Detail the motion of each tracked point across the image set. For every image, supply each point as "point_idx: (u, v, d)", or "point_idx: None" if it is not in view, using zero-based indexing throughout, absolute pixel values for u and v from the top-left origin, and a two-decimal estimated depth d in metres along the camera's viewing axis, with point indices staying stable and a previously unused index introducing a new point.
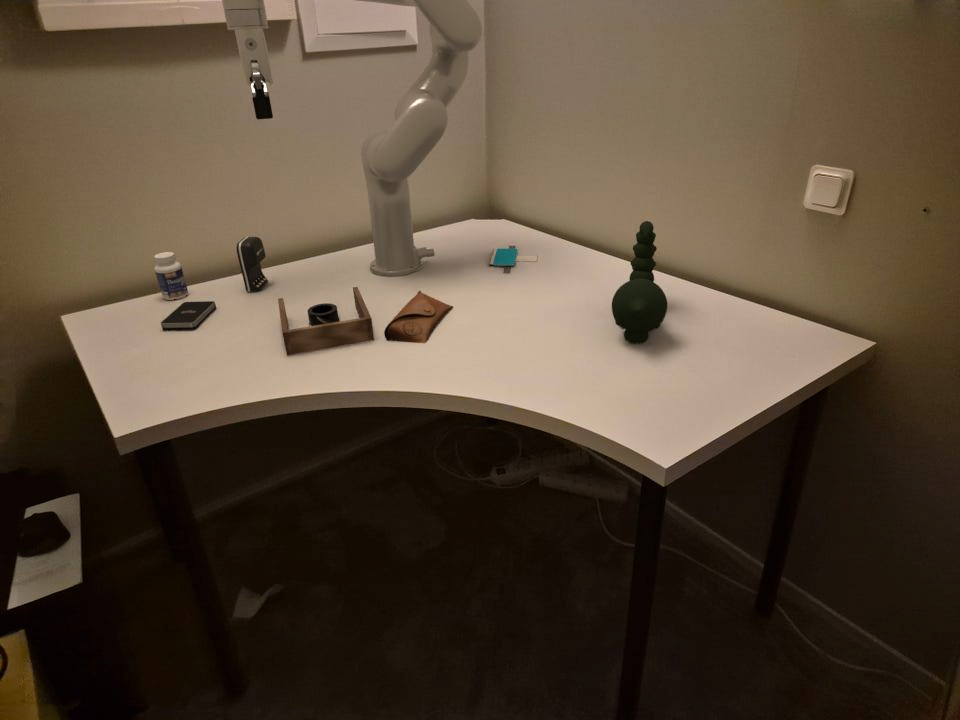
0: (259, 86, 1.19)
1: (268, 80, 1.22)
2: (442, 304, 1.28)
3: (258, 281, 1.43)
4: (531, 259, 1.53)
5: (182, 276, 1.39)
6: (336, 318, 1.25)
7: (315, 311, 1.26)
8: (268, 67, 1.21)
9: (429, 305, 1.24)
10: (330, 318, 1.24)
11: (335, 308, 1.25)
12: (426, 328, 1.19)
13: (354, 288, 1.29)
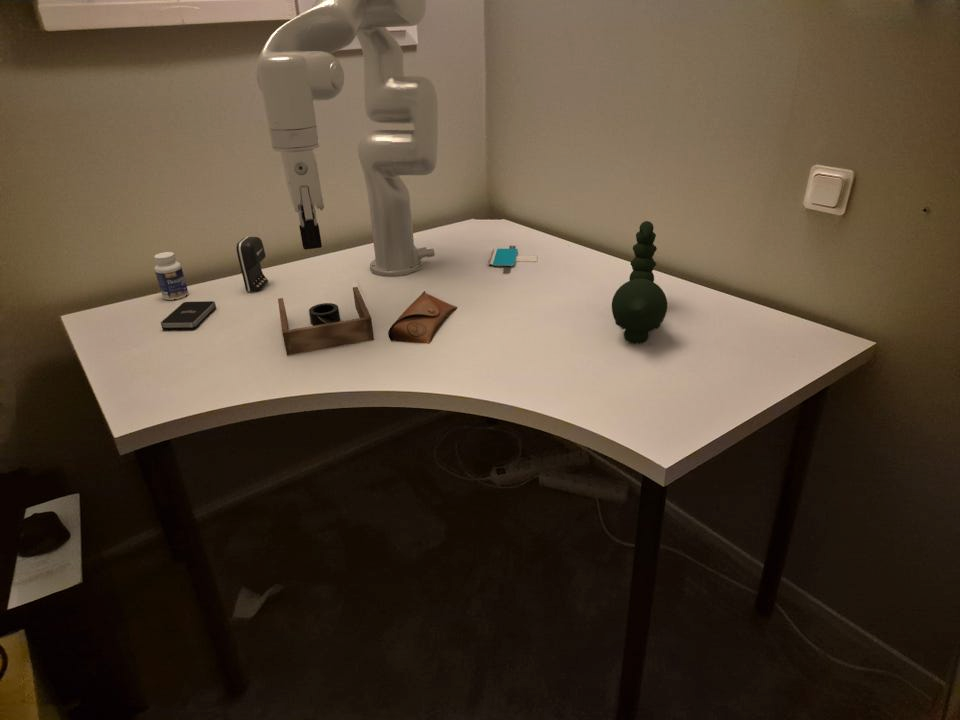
0: (309, 220, 1.06)
1: (319, 207, 1.04)
2: (446, 305, 1.27)
3: (258, 281, 1.43)
4: (531, 259, 1.53)
5: (182, 276, 1.39)
6: (337, 318, 1.25)
7: (316, 311, 1.27)
8: (320, 192, 1.03)
9: (433, 306, 1.24)
10: (331, 317, 1.24)
11: (336, 308, 1.25)
12: (430, 329, 1.18)
13: (354, 288, 1.29)
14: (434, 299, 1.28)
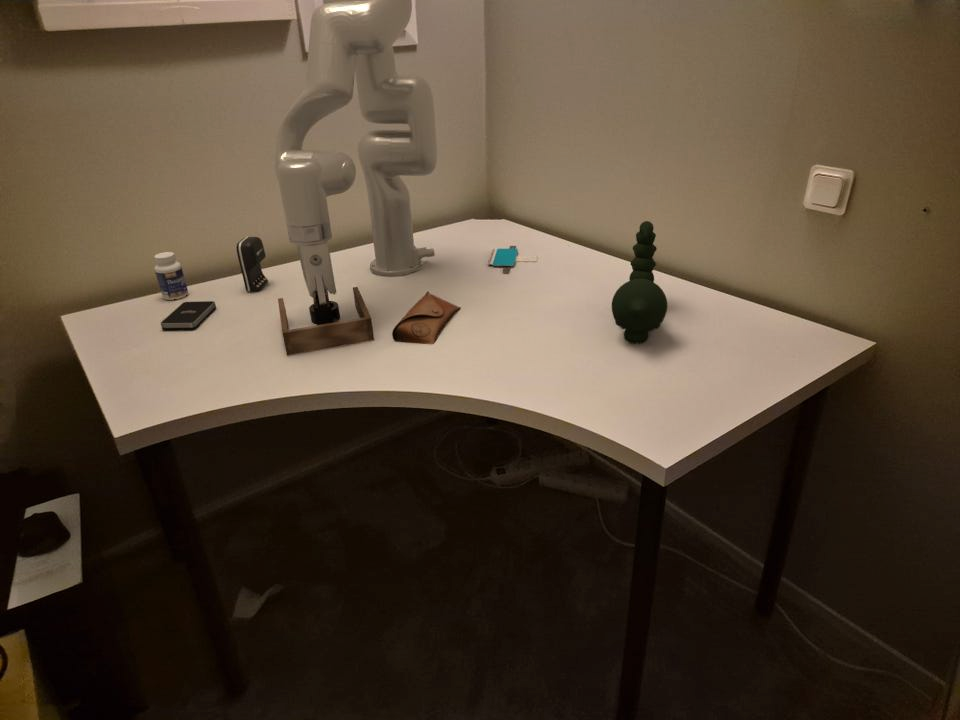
0: None
1: (332, 292, 1.14)
2: (450, 305, 1.27)
3: (258, 281, 1.43)
4: (531, 259, 1.53)
5: (182, 276, 1.39)
6: (337, 315, 1.26)
7: None
8: (333, 280, 1.13)
9: (437, 306, 1.24)
10: None
11: (336, 305, 1.26)
12: (434, 329, 1.18)
13: (354, 288, 1.29)
14: (438, 299, 1.28)
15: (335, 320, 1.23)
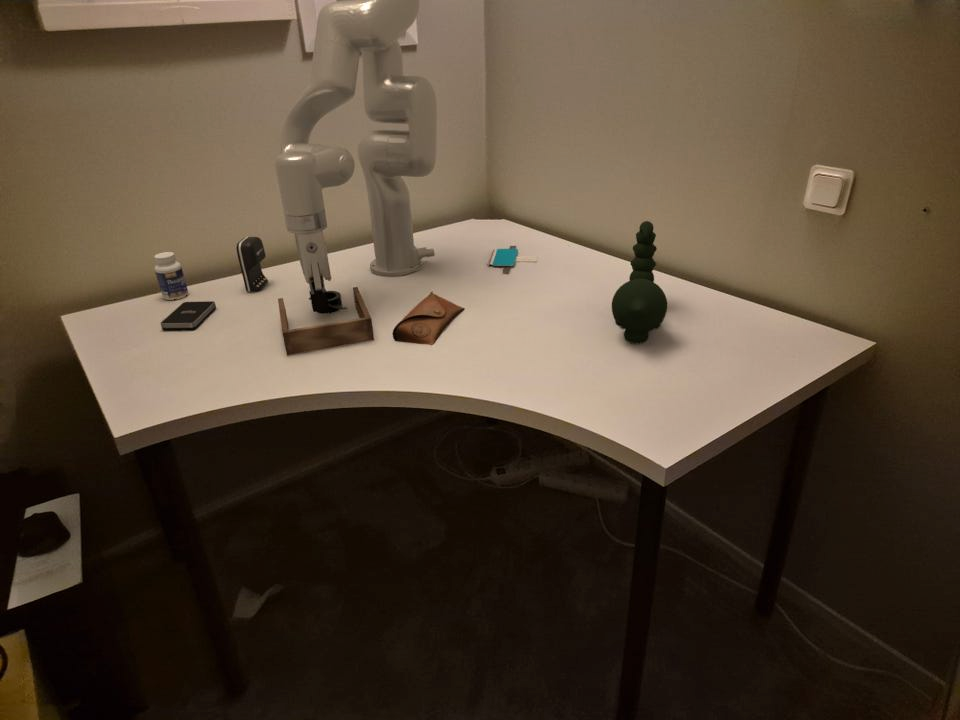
0: None
1: (327, 278, 1.20)
2: (453, 306, 1.27)
3: (258, 281, 1.43)
4: (531, 259, 1.53)
5: (182, 276, 1.39)
6: (341, 303, 1.32)
7: None
8: (328, 267, 1.19)
9: (439, 306, 1.24)
10: (337, 303, 1.30)
11: (339, 294, 1.32)
12: (434, 330, 1.18)
13: (354, 288, 1.29)
14: (441, 300, 1.28)
15: (343, 307, 1.29)
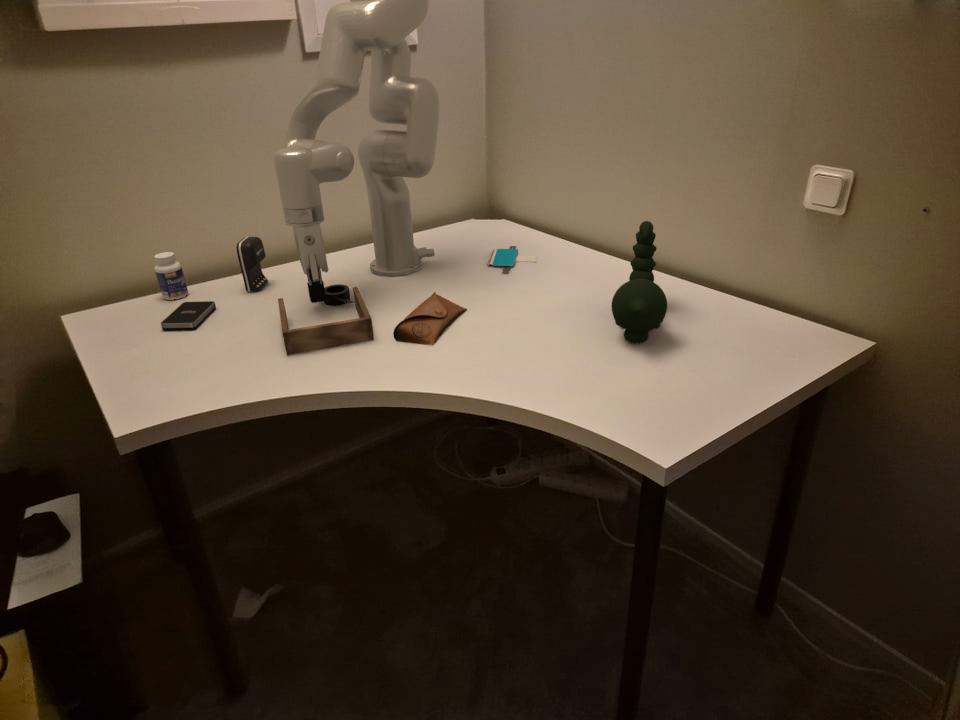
0: None
1: (324, 270, 1.24)
2: (455, 306, 1.27)
3: (258, 281, 1.43)
4: (531, 260, 1.53)
5: (182, 276, 1.39)
6: (349, 297, 1.35)
7: (327, 292, 1.35)
8: (325, 258, 1.23)
9: (441, 307, 1.23)
10: (345, 296, 1.33)
11: (347, 287, 1.35)
12: (435, 330, 1.18)
13: (354, 288, 1.29)
14: (444, 300, 1.27)
15: (350, 300, 1.32)
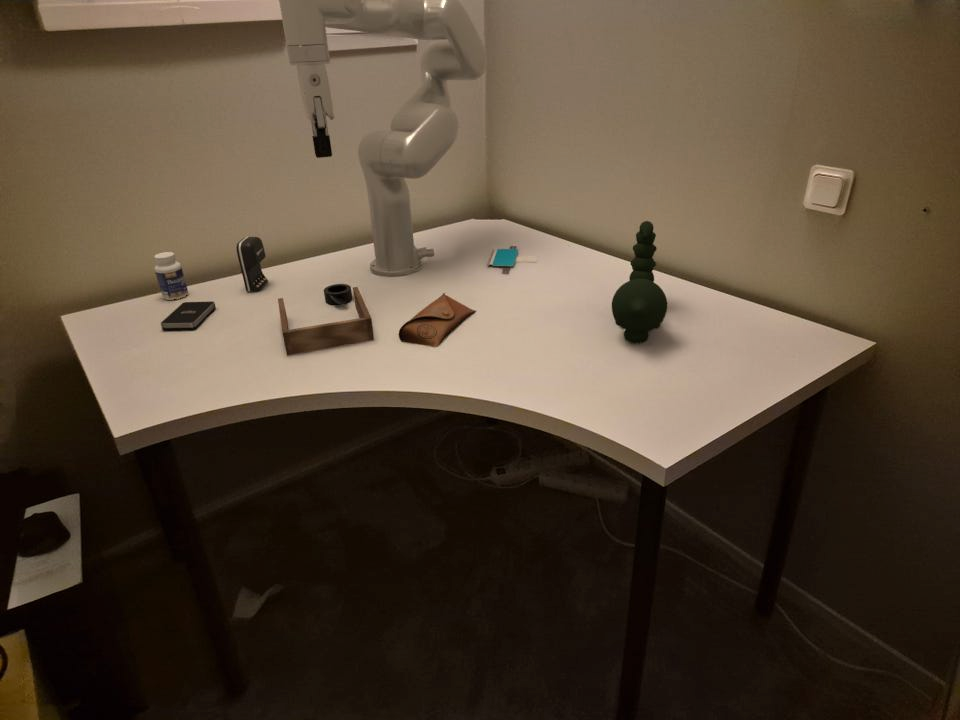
0: (321, 129, 1.21)
1: (330, 116, 1.19)
2: (464, 308, 1.26)
3: (258, 281, 1.43)
4: (531, 260, 1.53)
5: (182, 276, 1.39)
6: (349, 298, 1.34)
7: (332, 290, 1.36)
8: (331, 103, 1.18)
9: (449, 308, 1.23)
10: (343, 297, 1.33)
11: (349, 289, 1.34)
12: (440, 332, 1.17)
13: (354, 288, 1.29)
14: (452, 301, 1.27)
15: (344, 302, 1.31)
